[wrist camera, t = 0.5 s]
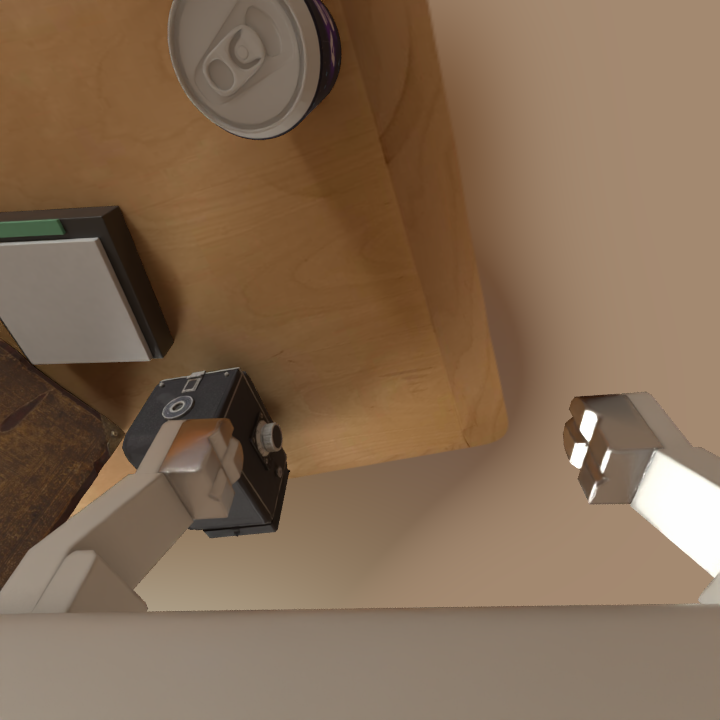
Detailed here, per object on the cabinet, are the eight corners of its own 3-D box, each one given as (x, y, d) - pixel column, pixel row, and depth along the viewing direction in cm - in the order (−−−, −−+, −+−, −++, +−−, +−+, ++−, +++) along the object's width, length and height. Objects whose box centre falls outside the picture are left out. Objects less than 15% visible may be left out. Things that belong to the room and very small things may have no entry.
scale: (-38, 214, 31) (-73, 228, 28) (119, 205, 30) (96, 219, 27) (47, 346, 38) (24, 367, 35) (174, 342, 37) (160, 362, 35)
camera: (162, 357, 40) (226, 468, 47) (87, 439, 30) (183, 562, 37) (265, 336, 38) (315, 455, 45) (221, 416, 28) (294, 551, 35)
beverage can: (361, 65, 24) (351, 79, 15) (289, 129, 27) (239, 176, 17) (298, -43, 22) (236, -111, 12) (224, 37, 24) (120, 32, 14)
